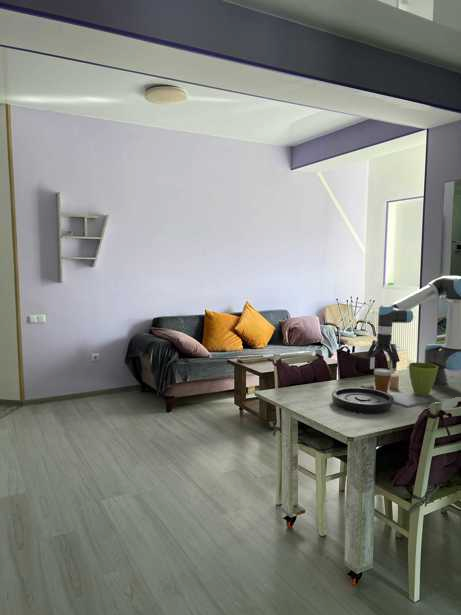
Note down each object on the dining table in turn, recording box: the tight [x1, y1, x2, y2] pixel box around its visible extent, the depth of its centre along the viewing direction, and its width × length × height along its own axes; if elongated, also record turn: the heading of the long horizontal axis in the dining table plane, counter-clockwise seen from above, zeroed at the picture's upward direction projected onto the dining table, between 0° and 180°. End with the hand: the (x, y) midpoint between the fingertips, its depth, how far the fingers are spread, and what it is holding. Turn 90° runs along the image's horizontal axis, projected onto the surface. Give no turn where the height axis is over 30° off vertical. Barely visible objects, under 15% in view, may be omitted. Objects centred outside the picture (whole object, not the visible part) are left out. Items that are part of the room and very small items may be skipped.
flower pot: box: [408, 362, 438, 397], centre depth 261 cm, size 15×15×16 cm
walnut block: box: [360, 383, 375, 389], centre depth 259 cm, size 5×5×5 cm
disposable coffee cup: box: [373, 367, 392, 393], centre depth 265 cm, size 10×10×12 cm
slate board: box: [391, 392, 430, 408], centre depth 249 cm, size 18×16×1 cm
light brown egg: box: [388, 374, 400, 390], centre depth 273 cm, size 5×5×7 cm
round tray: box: [331, 386, 394, 415], centre depth 239 cm, size 30×6×30 cm
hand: (381, 371), depth 264 cm, fingers open, 13 cm apart
